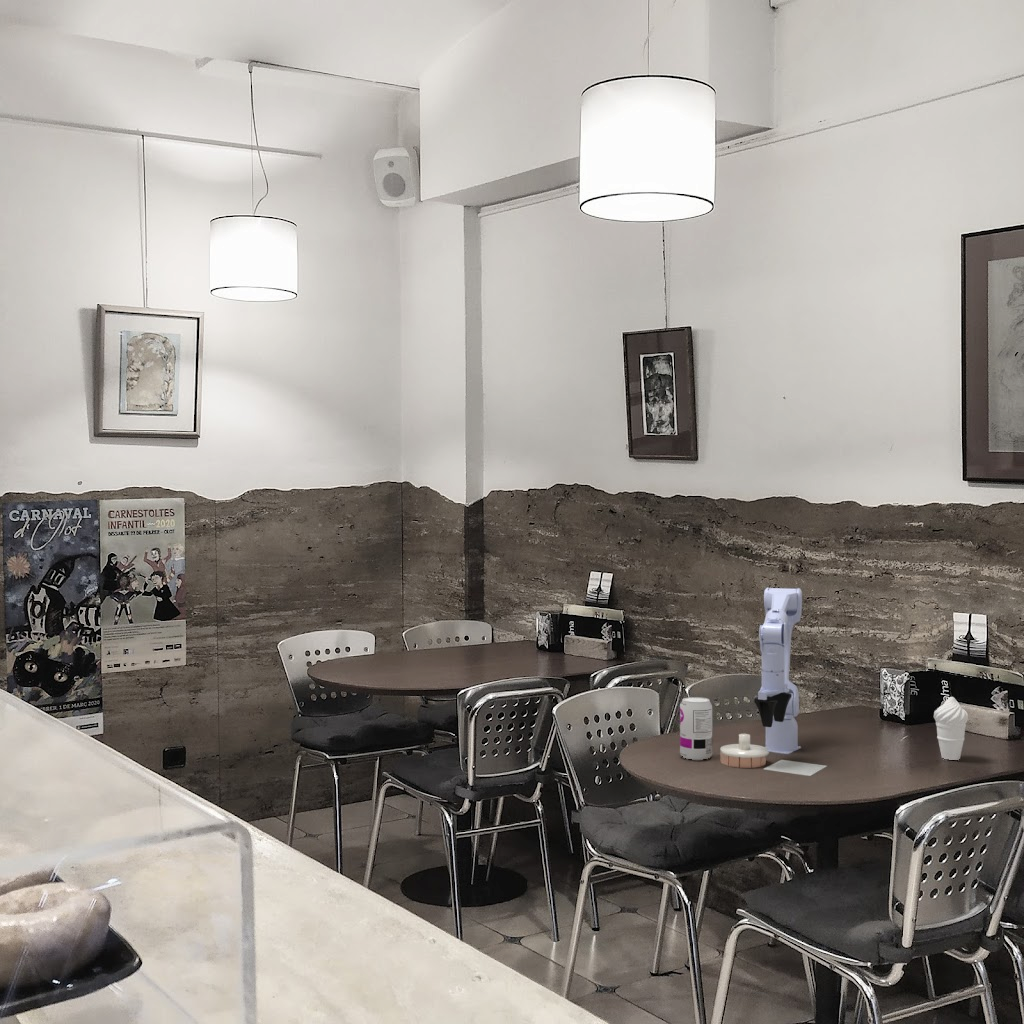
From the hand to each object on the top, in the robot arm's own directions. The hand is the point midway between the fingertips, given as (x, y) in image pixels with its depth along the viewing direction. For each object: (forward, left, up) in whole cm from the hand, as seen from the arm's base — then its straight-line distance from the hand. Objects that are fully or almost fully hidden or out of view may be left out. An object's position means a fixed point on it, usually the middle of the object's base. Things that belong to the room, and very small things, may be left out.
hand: (773, 724), depth 293 cm
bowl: (+5, -6, -10) cm, 13 cm away
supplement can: (+5, -19, -10) cm, 22 cm away
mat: (+3, +7, -10) cm, 12 cm away
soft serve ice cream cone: (-29, +36, -10) cm, 47 cm away
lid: (+5, -6, -7) cm, 10 cm away
